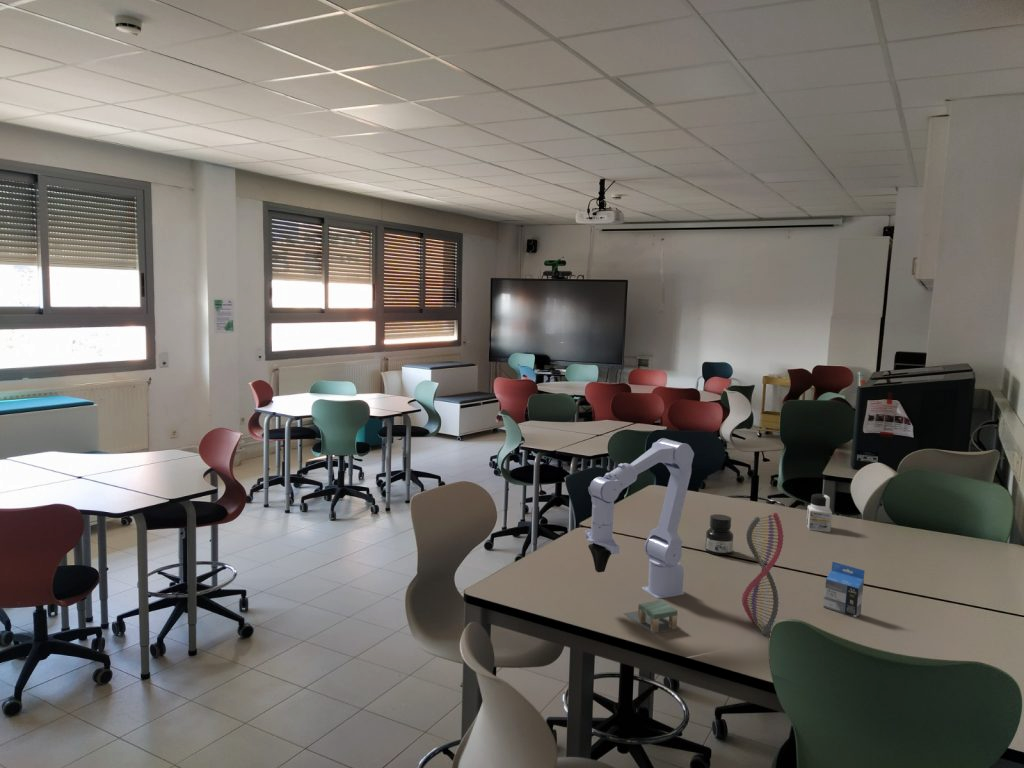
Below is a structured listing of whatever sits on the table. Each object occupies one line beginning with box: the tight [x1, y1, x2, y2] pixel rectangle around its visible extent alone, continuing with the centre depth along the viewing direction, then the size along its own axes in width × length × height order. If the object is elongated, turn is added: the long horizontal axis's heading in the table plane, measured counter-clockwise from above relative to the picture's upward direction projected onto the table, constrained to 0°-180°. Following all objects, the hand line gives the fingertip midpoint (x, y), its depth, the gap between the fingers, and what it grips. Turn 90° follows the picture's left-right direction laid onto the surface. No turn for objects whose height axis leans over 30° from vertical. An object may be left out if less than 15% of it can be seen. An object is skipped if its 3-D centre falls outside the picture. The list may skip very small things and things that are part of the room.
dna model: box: [741, 511, 784, 636], centre depth 180 cm, size 9×9×30 cm
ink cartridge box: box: [823, 561, 866, 618], centre depth 193 cm, size 9×4×12 cm, turn 45°
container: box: [806, 493, 833, 533], centre depth 269 cm, size 8×8×13 cm
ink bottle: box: [704, 513, 734, 556], centre depth 239 cm, size 10×9×12 cm
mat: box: [623, 610, 682, 635], centre depth 183 cm, size 9×13×1 cm
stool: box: [637, 599, 678, 632], centre depth 181 cm, size 5×7×7 cm
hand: (600, 571), depth 191 cm, fingers closed
